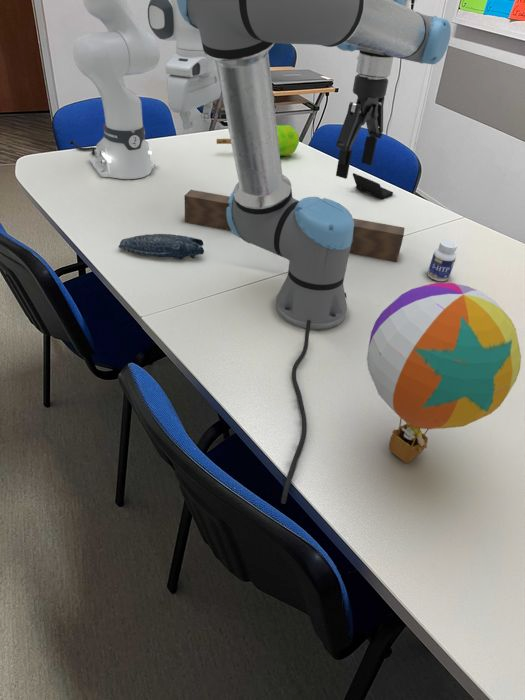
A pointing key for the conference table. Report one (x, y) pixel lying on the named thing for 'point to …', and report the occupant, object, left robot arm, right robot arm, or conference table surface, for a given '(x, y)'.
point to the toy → (441, 360)
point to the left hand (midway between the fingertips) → (197, 125)
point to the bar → (366, 234)
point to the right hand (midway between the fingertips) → (354, 170)
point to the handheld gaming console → (371, 187)
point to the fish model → (163, 246)
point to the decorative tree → (280, 140)
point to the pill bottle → (442, 261)
